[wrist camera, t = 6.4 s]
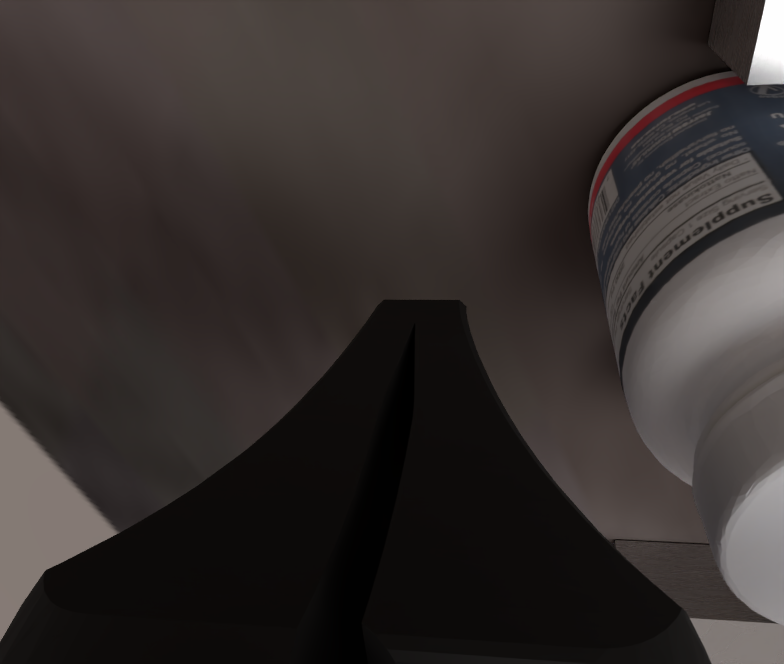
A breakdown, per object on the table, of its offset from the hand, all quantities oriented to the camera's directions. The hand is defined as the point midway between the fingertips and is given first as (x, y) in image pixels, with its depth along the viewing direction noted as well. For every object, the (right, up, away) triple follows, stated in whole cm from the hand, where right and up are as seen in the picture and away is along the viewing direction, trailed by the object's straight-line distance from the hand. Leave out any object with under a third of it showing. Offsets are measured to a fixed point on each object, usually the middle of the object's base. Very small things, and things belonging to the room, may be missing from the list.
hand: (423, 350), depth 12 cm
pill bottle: (+6, +3, +3) cm, 8 cm away
